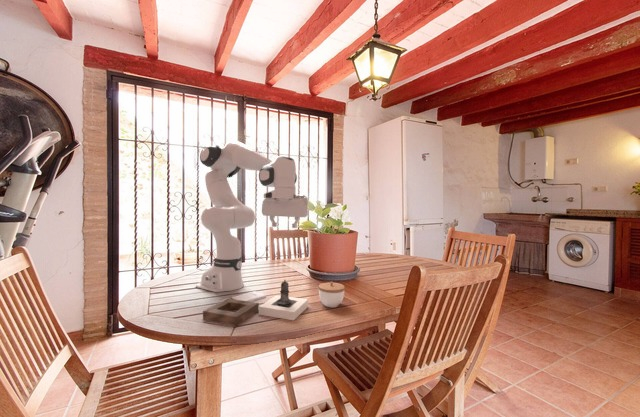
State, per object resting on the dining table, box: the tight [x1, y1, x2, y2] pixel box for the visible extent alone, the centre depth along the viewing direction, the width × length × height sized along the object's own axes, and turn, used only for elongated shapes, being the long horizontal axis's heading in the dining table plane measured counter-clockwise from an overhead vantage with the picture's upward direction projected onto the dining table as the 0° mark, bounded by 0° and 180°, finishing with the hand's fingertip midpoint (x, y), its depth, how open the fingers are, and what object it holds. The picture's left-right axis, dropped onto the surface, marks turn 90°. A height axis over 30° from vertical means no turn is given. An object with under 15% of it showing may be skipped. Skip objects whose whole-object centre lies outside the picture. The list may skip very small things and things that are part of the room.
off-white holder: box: [258, 294, 309, 321], centre depth 112 cm, size 14×14×3 cm
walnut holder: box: [202, 298, 260, 327], centre depth 106 cm, size 14×14×3 cm
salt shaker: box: [277, 279, 292, 308], centre depth 112 cm, size 6×6×12 cm
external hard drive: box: [230, 290, 267, 302], centre depth 124 cm, size 2×8×12 cm
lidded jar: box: [318, 281, 346, 308], centre depth 119 cm, size 11×11×9 cm
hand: (284, 227), depth 123 cm, fingers open, 8 cm apart
